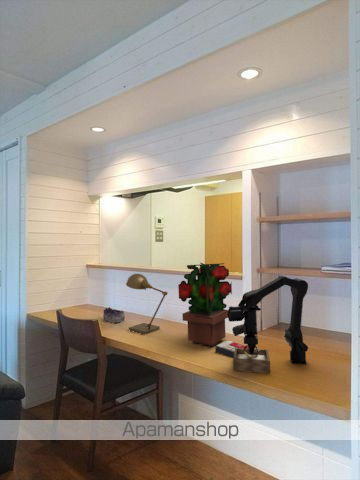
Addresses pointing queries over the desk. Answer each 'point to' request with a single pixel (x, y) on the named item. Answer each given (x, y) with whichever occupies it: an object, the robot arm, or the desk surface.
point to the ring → (251, 356)
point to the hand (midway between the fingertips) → (251, 352)
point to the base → (251, 361)
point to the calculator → (228, 348)
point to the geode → (113, 315)
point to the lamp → (141, 283)
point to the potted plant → (205, 303)
